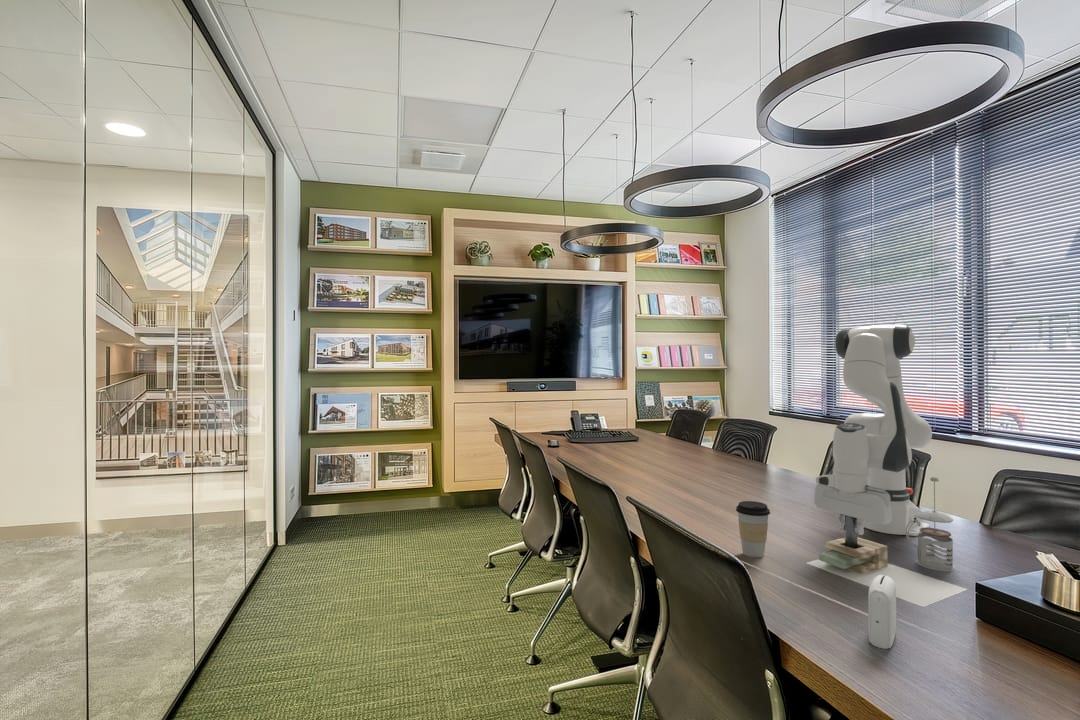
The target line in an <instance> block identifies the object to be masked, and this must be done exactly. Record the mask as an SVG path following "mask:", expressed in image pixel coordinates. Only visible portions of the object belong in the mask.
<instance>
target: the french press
mask: <svg viewBox="0 0 1080 720" xmlns="http://www.w3.org/2000/svg"><path fill="white" fill-rule="evenodd" d="M930 481H931V482H933V509H934V510H927V511H926V510H925V511H921V513H919V514H917V516H918V517H919V518H921V519H922V520H924V521H927V522H928V521H929V522H933V523H934V525H933V526H934V527H930V528H927V527H925V528H920V529H919V530H920V532H922V533H919V534H918V536H917V544H915V543H913V542H912V541H911V539H910V535H909V529H910V527H911V526H912V525H913V524H914V523H917V525H918V523H919V525H918V526H920V522H918V520H913V521H917V522H914V523H913V524H911V525H910V527H909V529H908V535H907V528H908V526H909V524H910V523H912V522H913V521H911V522H910V523H909V524H908V525H907V527H906V535H905V536H906V538H907V540H908V542H910V543H911V544H912V545H913V546H914V547H916V548H917V551H916V553H917V559H915V563H917V564H918V565H919V566H921V567H924V568H926V569H930V570H934V571H939V572H952V571H955V570H956V569H957V568H956V567H955V565H954V551H953V550H954V547H953V546H954V545H953V543H954V542H953V541H954V540H953V538H951V536H952V533H951V532H949V531H948V530H944V529H940V528H937V527H936V523H944V524H947V523H948V524H949V523H953V521H954V519H953V517H951V516H950V515H948V514H946V513H944V512H940V511H937V510H936V488H935V487H936V485H935V482H938V483H939V478H938V476H937V477H936V476H932V477H930ZM925 537H929V538H925ZM930 538H931V539H930ZM942 548H943V549H942ZM943 553H944V554H943Z"/></svg>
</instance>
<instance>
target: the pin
mask: <svg viewBox="0 0 1080 720" xmlns="http://www.w3.org/2000/svg"><path fill="white" fill-rule="evenodd" d="M844 521H845V530H844V537H845V546H846V547H850V548H853V549H857V548H858V545H857V537H858V534H855V527H858V518H854V517H850V516H847V515H844Z"/></svg>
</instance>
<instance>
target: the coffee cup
mask: <svg viewBox="0 0 1080 720" xmlns="http://www.w3.org/2000/svg"><path fill="white" fill-rule="evenodd" d="M735 511H736V512H737V513H738V528H739V537H740V540H741V549H742V555H745V556H746V557H750V558H763V557H765V551H766V542H767V538H768V537H767V536H768V527H769V526H768V525H769V522H768V520H769V515H770V514H771V512H770V509H769V508H768V505H767V504H766V503H763V502H760V501H752V500H751V501H750V500H745V501H744V500H743V501H739V502H738V505H737V506H736V509H735Z"/></svg>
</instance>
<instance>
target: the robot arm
mask: <svg viewBox="0 0 1080 720" xmlns="http://www.w3.org/2000/svg"><path fill="white" fill-rule="evenodd" d="M915 345H916V337H915V335H914V332H913V329H911V328H910V327H909V326H908V325H906V324H895V325H892V324H890V325H889V324H872V325H868V326H861V327H860V326H859V327H854V328H852V327H849V328H848V327H847V328H845V329H844V328H843V329H840V330H839V331H838V333H837V334H836V336H835V340H834V348H835V351H836V354H837V355H838V356H839V357H841V358H842V359H843V371H842V375H843V376H842V377H843V379H842V380H843V383H844V385H845V386H846V388H848V390H850V392H852V393H853V394H854V395H857V396H859V397H862V398H864V399H865V400H867V401H868V402H869V403H870V404H873V405H875V406H876V407H878V408H879V409H881V411H882V412H883V413H873V412H871V413H870V412H864V413H863V412H862V413H861V412H860V413H853V414H852V413H851V414H850V415H848V417H846V418H845V420H844V423H840V424H838V425H836V426H835V428H834V432H833V433H834V434H833V438H832V439H833V440H832V443H831V444H832V445H831V446H832V448H831V452H832V453H831V454H832V457H833V463H834V464H833V466H832V473H828V474H822V475H818V476H816V477H815V483H816V485H815V487H814V492H813V493H814V495H813V501H814V502H813V503H814V505H815V507H816V508H818V509H821V510H824V511H827V512H831V513H834V516H835V519H836V520H837V522H838V526H839V527H838V528H839V530H840V531H841V530H842V531H845V518H844V517H845V515H847V516H850V517H854V518H857V523H859V525H857V527H855V534H857V536H863V535H864V534H865V533H864V532H865V531H864V530H865V528H866V529H868V530H872V531H873V532H879V533H883V534H891V535H905V536H906V527H907V525H908V524H909V523H910V522H911V521H913V520H918V522H920V526H918V525H919V523H918V525H917V523H914V522H917V521H913V522H912V523H910V524H909V526H908V528H907V536H908V529H909V527H910V525H911V524H913V523H914V524H913V525H912V526H911V527H910V529H909V537H910V536H911V537H918V534H919V533H922V532H920V530H919V529H920V528H925V527H927V528H931V525H930V524H929V523H926V522H924V521H922V520H923V519H921V518H919V517H918V516H917V514H919V513H921V512H922V511H921V508H919V507H918V506H917V505H915V504H914V503H913V502H912V501H911V500H910V495H913V493H914V490H913V488H910V487H906V486H907V485H906V481H907V478H906V477H907V475H906V472H907V471H906V469H907V468H909V467H910V466H911V463H912V459H913V452H912V449H923V448H925V447H926V446H928V444H929V443H930V442H931V440H932V437H933V430H932V427H931V425H930V424H929V422H928V421H927V420H926V419H925V418H923V417H921V415H919V414H917V413H916V412H915V411H914V410H913V409H912V408H911V406H910V405H909V403H908V401H907V400H906V397H905V394H904V393H905V392H904V387H903V378H902V369H901V362H900V360H903V359H904V358H905V357H908V356H910V355H911V353H913V350H914V348H915Z"/></svg>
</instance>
